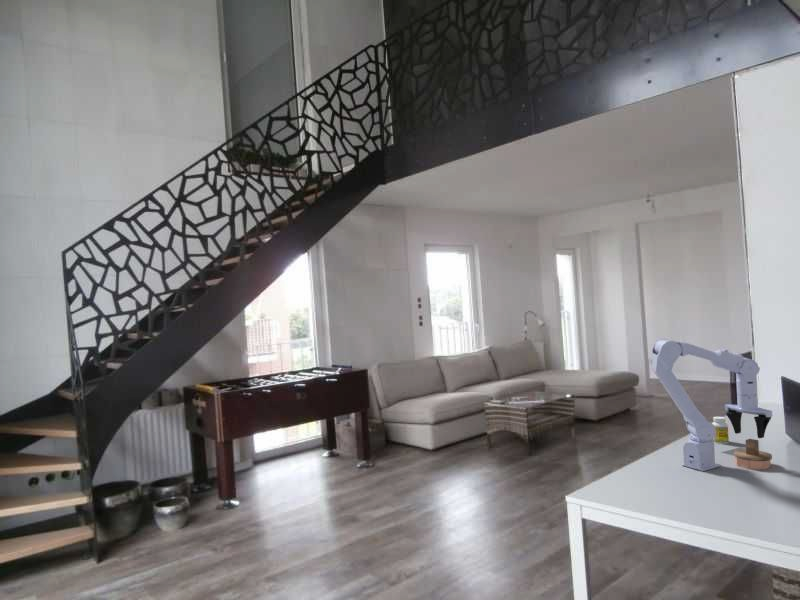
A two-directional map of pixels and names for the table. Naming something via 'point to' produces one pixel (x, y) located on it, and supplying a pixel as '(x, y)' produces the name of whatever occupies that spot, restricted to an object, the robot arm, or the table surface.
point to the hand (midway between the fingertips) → (749, 435)
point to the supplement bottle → (721, 430)
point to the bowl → (752, 464)
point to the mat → (731, 452)
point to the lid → (752, 452)
